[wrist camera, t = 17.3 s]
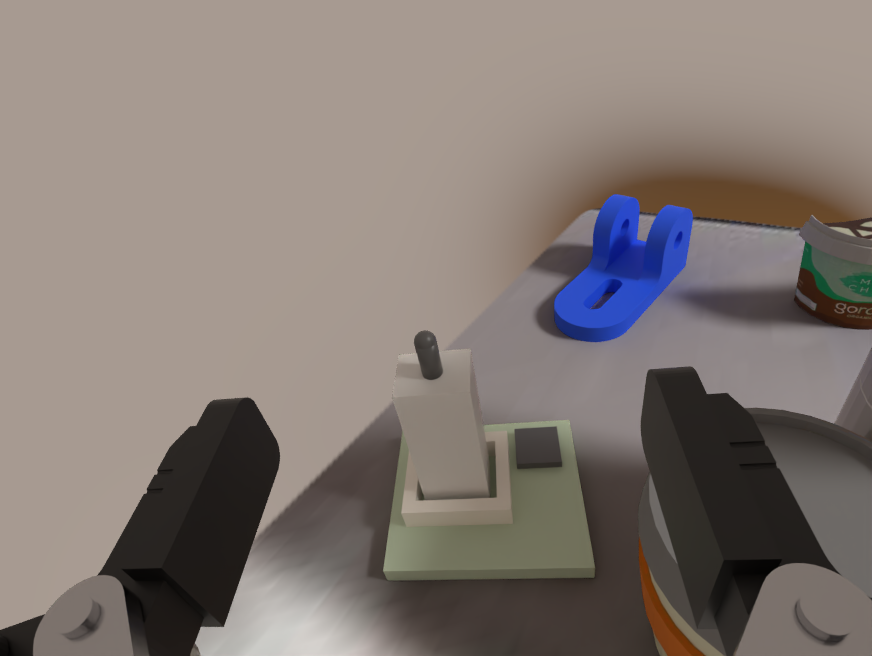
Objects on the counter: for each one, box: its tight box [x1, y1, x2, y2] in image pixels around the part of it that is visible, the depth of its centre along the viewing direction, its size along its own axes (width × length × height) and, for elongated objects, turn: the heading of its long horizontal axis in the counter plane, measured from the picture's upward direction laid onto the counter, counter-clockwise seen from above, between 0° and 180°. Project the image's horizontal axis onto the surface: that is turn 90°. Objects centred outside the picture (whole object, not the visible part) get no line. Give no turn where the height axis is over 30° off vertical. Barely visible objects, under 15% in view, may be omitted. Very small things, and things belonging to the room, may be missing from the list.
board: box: [383, 420, 595, 581], centre depth 41 cm, size 15×13×4 cm
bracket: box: [554, 194, 693, 342], centre depth 57 cm, size 18×8×9 cm, turn 137°
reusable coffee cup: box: [638, 408, 872, 656], centre depth 27 cm, size 13×13×15 cm
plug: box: [392, 331, 491, 500], centre depth 37 cm, size 5×5×16 cm
